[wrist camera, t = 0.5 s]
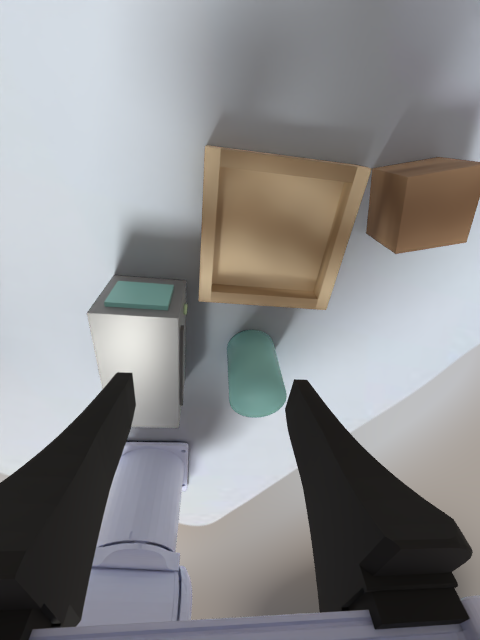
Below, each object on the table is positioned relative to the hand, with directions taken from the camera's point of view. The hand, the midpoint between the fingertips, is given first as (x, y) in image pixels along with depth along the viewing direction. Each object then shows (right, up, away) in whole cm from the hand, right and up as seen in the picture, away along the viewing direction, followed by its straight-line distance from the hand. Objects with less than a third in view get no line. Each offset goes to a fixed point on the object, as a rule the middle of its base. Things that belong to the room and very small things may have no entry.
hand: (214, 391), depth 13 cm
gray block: (-6, +2, +10) cm, 12 cm away
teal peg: (+2, +1, +12) cm, 12 cm away
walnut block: (+12, +11, +6) cm, 17 cm away
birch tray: (+3, +9, +6) cm, 11 cm away
